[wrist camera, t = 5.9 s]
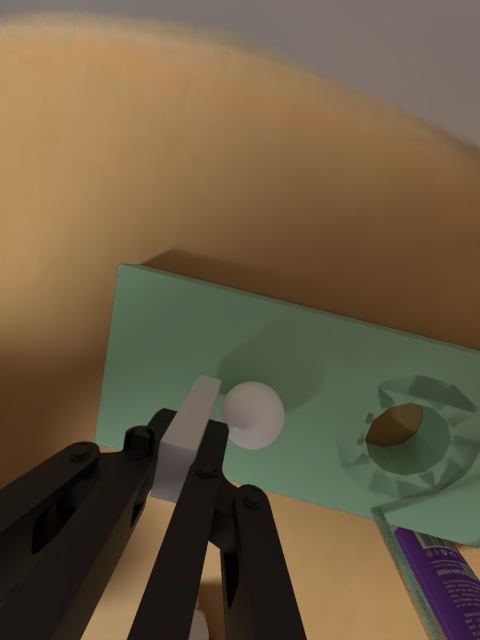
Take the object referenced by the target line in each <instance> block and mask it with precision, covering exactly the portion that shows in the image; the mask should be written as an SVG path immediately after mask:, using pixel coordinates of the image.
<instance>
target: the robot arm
mask: <svg viewBox="0 0 480 640" xmlns="http://www.w3.org/2000/svg"><path fill="white" fill-rule="evenodd" d="M221 381H222V380H219V379H216V378H212V377H208V376H204V375H200V374H199V376H198V378H197V380H196V381H195V383H194V385H193V386H192V388H191V390H190V391H189V393H188V395H187V397H186V398H185V400H184V402H183V403H182V405H181V407H180V409H179V410H178V411H174V410H171V409H167V408H163V409H161V410H159V411H157V412H156V413H155V415H154V416H153V417H152V419H151V420H150V422H149V423H148V424H147V426H144V425H140V426H134V427H132V428H130V429H128V430H127V431H126V432H125V438H124V445H123V449H122V451H119V452H112V453H100V450H99V446H97V445H96V444H95V443H92V442H85V441H82V442H77V443H74V444H72V445H70V446H68V447H66V448H64V449H63V450H61V451H60V452H58V453H57V454H55V455H53V456H52V457H50V458H49V459H47V460H46V461H44V462H43V463H41V464H39V465H38V466H36V467H35V468H33V469H32V470H30V471H28V472H27V473H25V474H24V475H22V476H21V477H19V478H17V479H16V480H14V481H13V482H11V483H10V484H8V485H7V486H5V487H3V488H2V489H0V640H80V639H81V637H82V635H83V633H84V631H85V629H86V627H87V625H88V623H89V621H90V619H91V617H92V615H93V613H94V610H95V608H96V606H97V604H98V602H99V600H100V598H101V596H102V594H103V592H104V590H105V588H106V586H107V584H108V582H109V580H110V578H111V575H112V573H113V571H114V569H115V567H116V565H117V563H118V561H119V559H120V557H121V555H122V553H123V551H124V549H125V547H126V545H127V543H128V541H129V538H130V536H131V534H132V532H133V530H134V528H135V526H136V524H137V522H138V520H139V518H140V516H141V514H142V512H143V510H144V507H145V503H146V498H147V495H148V493H149V491H150V489H151V493H150V496H152V497H155V498H159V499H162V500H166V501H170V502H173V503H177V504H176V506H175V509H174V512H173V515H172V517H171V520H170V523H169V526H168V528H167V531H166V534H165V536H164V539H163V542H162V545H161V547H160V550H159V553H158V556H157V558H156V561H155V564H154V567H153V569H152V572H151V575H150V578H149V580H148V583H147V586H146V589H145V591H144V594H143V597H142V599H141V602H140V605H139V608H138V610H137V613H136V616H135V619H134V621H133V624H132V627H131V630H130V632H129V635H128V638H127V640H189V636H190V631H191V626H192V621H193V615H194V610H195V605H196V600H197V595H198V590H199V585H200V580H201V575H202V570H203V565H204V560H205V555H206V550H207V545H208V541H210V542H211V543H212V544H214V545H215V546H217V547H218V548H219V549H220V559H221V575H222V591H223V606H224V622H225V638H226V640H307V638H306V635H305V631H304V627H303V624H302V620H301V616H300V613H299V609H298V605H297V602H296V598H295V594H294V591H293V587H292V583H291V580H290V576H289V573H288V569H287V565H286V562H285V558H284V554H283V551H282V547H281V543H280V540H279V536H278V532H277V529H276V525H275V521H274V518H273V514H272V511H271V507H270V503H269V500H268V498H267V496H266V494H265V493H264V492H263V491H262V489H260V488H259V487H257V486H255V485H251V484H246V485H242V486H240V487H239V488H238V487H236V486H234V485H233V484H231V483H230V482H229V481H228V480H227V479H226V478H225V476H224V474H223V470H222V466H223V461H224V456H225V451H226V446H227V441H228V436H229V428H228V425H227V424H226V423H223V422H219V421H215V420H212V418H213V415H214V410H215V406H216V402H217V398H218V394H219V389H220V385H221ZM25 576H26V577H25ZM24 577H25V578H24ZM23 578H24V579H23ZM22 579H23V580H22ZM21 580H22V582H21V583H20V584H19V586H18V583H19V582H20V581H21Z"/></svg>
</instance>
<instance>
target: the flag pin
mask: <svg viewBox="0 0 480 640" xmlns="http://www.w3.org/2000/svg"><path fill="white" fill-rule="evenodd" d="M371 514H372V516H373V518H374V520H375V522H376V525H377V527H378V529H379V531H380V533H381V536H382V538H383V540H384V542H385V544H386V547H387V549H388V551H389V553H390V555H391V558H392V560H393V562H394V564H395V566H396V569H397V571H398V573H399V575H400V577H401V580H402V582H403V584H404V586H405V588H406V591H407V593H408V595H409V597H410V599H411V602H412V604H413V606H414V608H415V611H416V613H417V615H418V617H419V619H420V622H421V624H422V626H423V628H424V630H425V633H426V635H427V637H428V639H429V640H447V638H446V636H445V634H444V632H443V630H442V628H441V626H440V625H439V623H438V621H437V619H436V617H435V615H434V613H433V611H432V609H431V607H430V605H429V603H428V601H427V599H426V597H425V595H424V593H423V591H422V589H421V587H420V585H419V583H418V581H417V579H416V577H415V575H414V573H413V571H412V569H411V567H410V565H409V563H408V561H407V559H406V557H405V555H404V553H403V551H402V549H401V547H400V545H399V543H398V541H397V539H396V537H395V535H394V533H393V531H392V529H391V527H390V525H389V523H388V521H387V519H386V517H385V515H384V513H383V511H382V509H381V508H380V507H373V508H372V509H371Z"/></svg>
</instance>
